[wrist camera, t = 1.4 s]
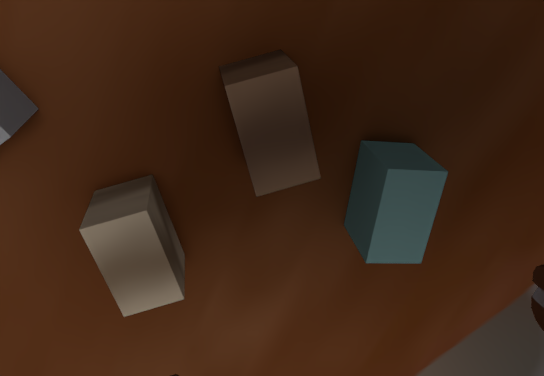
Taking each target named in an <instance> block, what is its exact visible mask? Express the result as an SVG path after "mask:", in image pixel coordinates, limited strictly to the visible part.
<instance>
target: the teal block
mask: <svg viewBox="0 0 544 376" xmlns="http://www.w3.org/2000/svg"><path fill="white" fill-rule="evenodd" d="M447 174H448V171H447V170H446V169H444V168H443V167H442V166H441V165H440V164H438V163H437V162H436V161H435V160H433V159H432V158H431V157H430V156H429V155H427V154H426V153H425V152H424V151H422V150H421V149H420V148H419V147H418V146H416V145H415V144H414V143H398V142H380V141H363V140H361V144H360V149H359V154H358V158H357V163H356V168H355V173H354V178H353V183H352V188H351V193H350V197H349V202H348V207H347V212H346V217H345V222H344V226H345V228H346V230H347V231H348V233H349V235H350V237H351V238H352V240H353V242H354V244H355V245H356V247H357V249H358V250H359V252H360V254H361V256H362V257H363V259H364V261H365V262H366V263H421V262H422V258H423V255H424V252H425V248H426V245H427V242H428V238H429V235H430V231H431V228H432V225H433V221H434V218H435V215H436V211H437V208H438V204H439V201H440V198H441V194H442V191H443V188H444V184H445V181H446V177H447Z"/></svg>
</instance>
